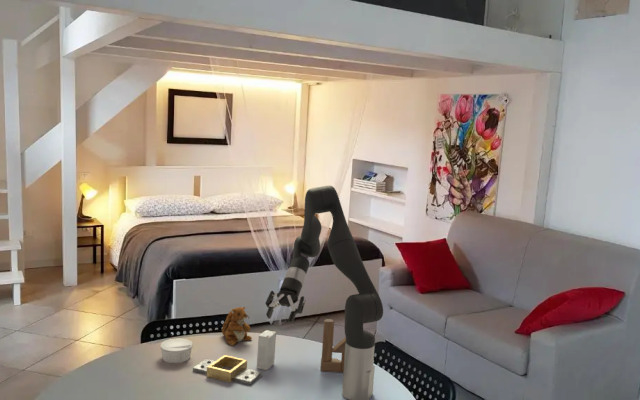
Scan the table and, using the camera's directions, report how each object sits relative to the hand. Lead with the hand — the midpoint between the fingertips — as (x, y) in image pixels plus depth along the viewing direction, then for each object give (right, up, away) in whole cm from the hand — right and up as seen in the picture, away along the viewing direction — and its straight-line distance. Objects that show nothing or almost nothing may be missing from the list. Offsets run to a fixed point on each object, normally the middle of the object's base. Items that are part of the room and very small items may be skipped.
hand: (278, 319), depth 198 cm
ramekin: (-36, -13, -4) cm, 39 cm away
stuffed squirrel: (-19, -11, +17) cm, 28 cm away
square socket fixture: (-17, -15, -14) cm, 26 cm away
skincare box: (-4, -15, -7) cm, 17 cm away
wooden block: (+20, -17, -6) cm, 27 cm away
